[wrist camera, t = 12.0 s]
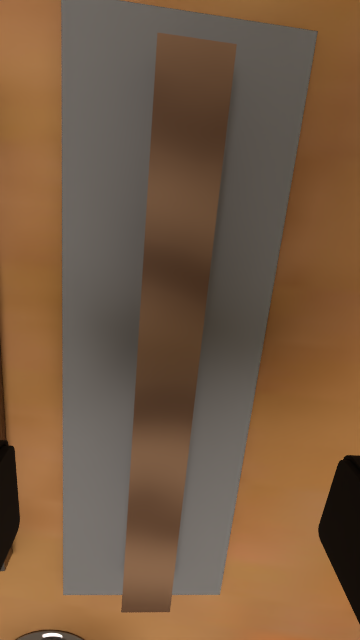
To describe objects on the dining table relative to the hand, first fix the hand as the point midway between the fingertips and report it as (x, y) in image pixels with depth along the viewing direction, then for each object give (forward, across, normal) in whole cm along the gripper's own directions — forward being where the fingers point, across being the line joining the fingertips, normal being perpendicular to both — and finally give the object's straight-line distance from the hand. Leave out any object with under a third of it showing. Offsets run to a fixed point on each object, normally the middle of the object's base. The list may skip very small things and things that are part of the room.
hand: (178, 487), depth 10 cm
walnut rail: (+9, 0, +2) cm, 10 cm away
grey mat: (+10, 0, +2) cm, 10 cm away
